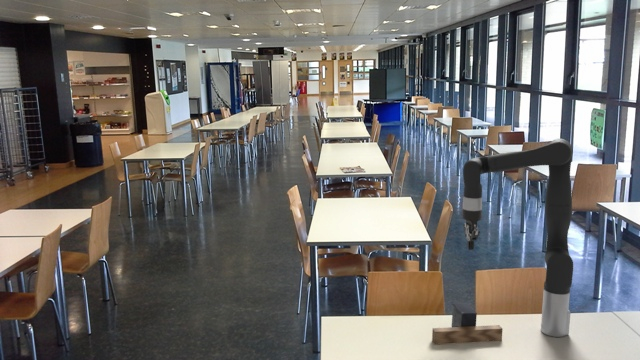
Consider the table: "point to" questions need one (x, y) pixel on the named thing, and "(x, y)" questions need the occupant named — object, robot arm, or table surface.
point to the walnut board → (467, 334)
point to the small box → (463, 315)
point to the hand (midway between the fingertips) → (470, 249)
